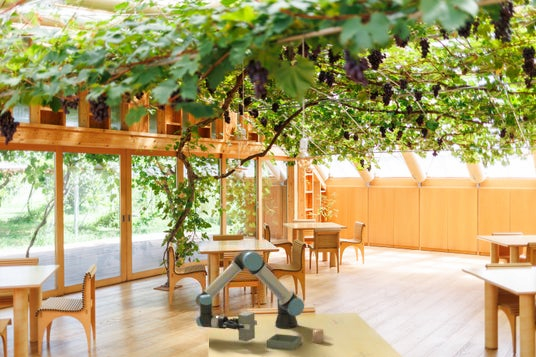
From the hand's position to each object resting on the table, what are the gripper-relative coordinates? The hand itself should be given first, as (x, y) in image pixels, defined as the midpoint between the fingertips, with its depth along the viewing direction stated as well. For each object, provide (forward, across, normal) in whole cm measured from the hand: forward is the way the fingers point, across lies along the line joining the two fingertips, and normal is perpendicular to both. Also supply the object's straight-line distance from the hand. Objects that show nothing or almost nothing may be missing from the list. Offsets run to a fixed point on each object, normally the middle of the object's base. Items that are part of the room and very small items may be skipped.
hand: (253, 324), depth 301 cm
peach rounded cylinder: (+33, +21, +13) cm, 41 cm away
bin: (+16, +8, +13) cm, 22 cm away
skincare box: (-4, 0, +9) cm, 10 cm away
